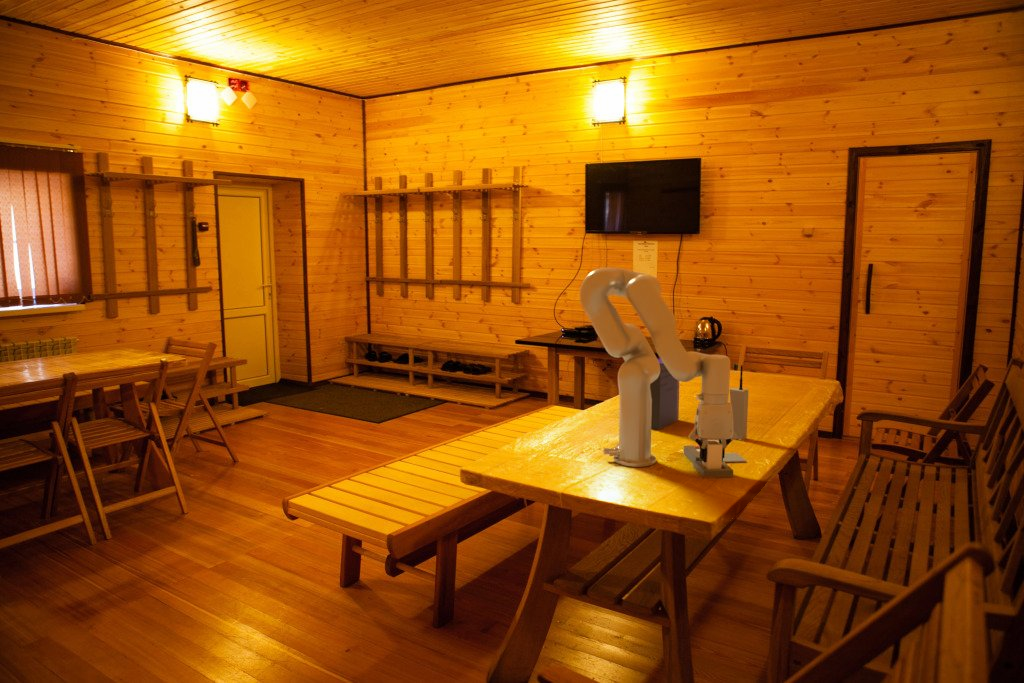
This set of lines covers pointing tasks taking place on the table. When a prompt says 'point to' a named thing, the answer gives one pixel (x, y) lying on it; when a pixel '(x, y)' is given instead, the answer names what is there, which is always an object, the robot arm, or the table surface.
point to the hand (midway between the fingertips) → (711, 460)
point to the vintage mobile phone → (739, 409)
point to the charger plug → (713, 455)
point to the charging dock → (694, 457)
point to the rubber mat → (733, 458)
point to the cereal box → (664, 399)
